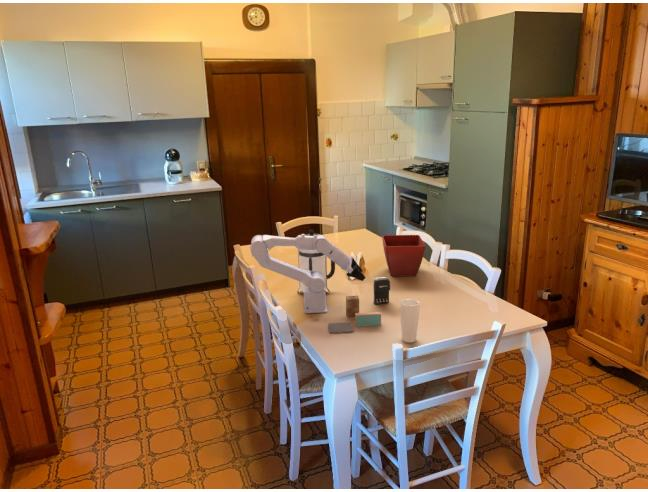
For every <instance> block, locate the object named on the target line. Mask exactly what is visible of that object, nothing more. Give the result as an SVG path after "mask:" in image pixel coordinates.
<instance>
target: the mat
mask: <svg viewBox="0 0 648 492" xmlns="http://www.w3.org/2000/svg"><path fill="white" fill-rule="evenodd" d="M328 331H329V334H343V333H344V334H346V333H348V334H349V333H354V328H353V325H352V321H348V322H347V321H346V322H345V321H344V322H329V323H328Z"/></svg>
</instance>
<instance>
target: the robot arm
mask: <svg viewBox="0 0 648 492" xmlns="http://www.w3.org/2000/svg"><path fill="white" fill-rule="evenodd" d="M318 234H319V233H318ZM250 243H251V245H250V253H251V257H253V259H255V260H256V261H257V263H258V264H259V266H260V267H262V268H264V269H267V270H268V271H272V272H275V273H277V274H280V275H282V276H285V277H287V278H290V279H292V280H294V281H297V282H299V281H300V282H302V283H303V284H304V285H305V286H307V287H309V288H308V289H307V290H304V292H303V308H304V309H303V310H304V314H315V313H316V314H318V313H319V314H320V313H327V312H328V307H327V296H326V294H327V293H326V292H327V291H326V290H327V289H326V290H325V282H324V279H323V275H322V273H321V272H319V271H310V270H303V269H301V268H299V266H298V267H297V266H295V265H293V264H290V263H287V262H286V261H284V260H283V261H282V260H280V259H278V258H274V257H272V256H271V255H270V253H269V251H270V250H272V249H273V248H275V247H295V248H296V249H302V250H317V251H318V252H320V253H323V254H324V255H325V256H326V258H328V259H329V260H330V261H331V260H332V261H333V262H334V263H335V265H337V266H338V267H339V268H341V270H343V271H346V272H347V273H346V276H347V277H349V278H355V279H356V280H358V281H361V282H363V281H364V280H365V279H366V275H365V274H363V269H362V267H361V266H360V265H359V264H358V263H357V261H356V260H355V257H354V255H350V256H349V255H348V254H346V253H345V252H344V251H343V250H342V249H341V248H339V247H337V246H336V245H335V244H333V243H332V242H331V241H329V240H328V238H327V237H326V236H325V235H322V234H319V235H317V236H316V235H314V236H305V233H301V234H299V235H297V236H296V237H289V236H281V235H280V236H279V235H269V234H262V235H261V234H257V235H254V236H253V237H252V238H251V241H250ZM300 282H299V283H300Z"/></svg>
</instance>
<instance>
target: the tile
mask: <svg viewBox="0 0 648 492" xmlns="http://www.w3.org/2000/svg"><path fill="white" fill-rule="evenodd" d="M354 324H355V325H354V326H355V327H371V326H372V327H374V326H376V327H377V326H382V313H381V311H372V312H359V313H355V317H354Z"/></svg>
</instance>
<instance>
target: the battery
mask: <svg viewBox="0 0 648 492" xmlns="http://www.w3.org/2000/svg"><path fill="white" fill-rule="evenodd" d="M372 286H373V287H372V288H373V289H372V290H373V303H374V304H375V305H384V304H385V305H386V304H389V303H390V291H391V280H390V278H389V277H387V276H381V277H380V276H379V277H375V278H374V279H373V285H372Z"/></svg>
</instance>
